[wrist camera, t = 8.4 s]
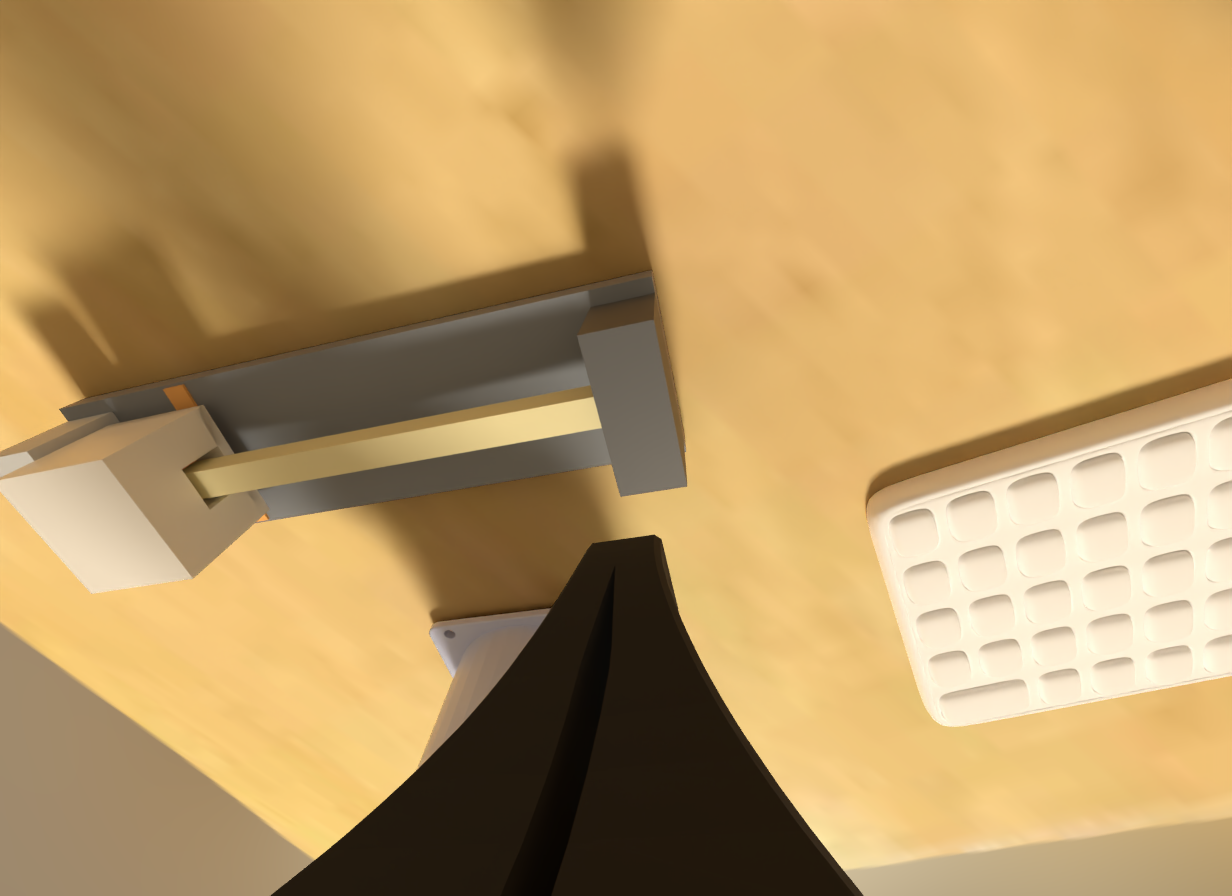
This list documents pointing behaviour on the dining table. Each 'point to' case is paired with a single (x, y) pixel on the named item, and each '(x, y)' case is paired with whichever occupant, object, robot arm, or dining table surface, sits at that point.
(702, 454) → the dining table surface
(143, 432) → the beige sliding bead
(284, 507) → the cord board
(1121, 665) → the calculator
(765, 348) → the dining table surface
